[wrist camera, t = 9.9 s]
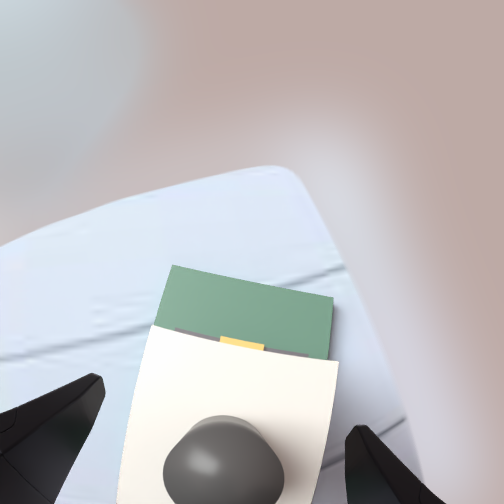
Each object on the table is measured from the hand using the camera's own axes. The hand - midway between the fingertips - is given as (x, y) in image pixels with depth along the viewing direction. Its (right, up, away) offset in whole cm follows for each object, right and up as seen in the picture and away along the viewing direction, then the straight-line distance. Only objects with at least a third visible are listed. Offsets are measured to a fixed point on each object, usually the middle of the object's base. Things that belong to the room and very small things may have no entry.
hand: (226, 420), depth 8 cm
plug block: (-1, -4, +7) cm, 9 cm away
